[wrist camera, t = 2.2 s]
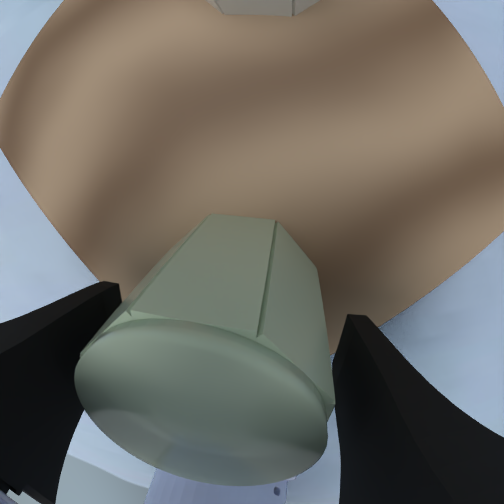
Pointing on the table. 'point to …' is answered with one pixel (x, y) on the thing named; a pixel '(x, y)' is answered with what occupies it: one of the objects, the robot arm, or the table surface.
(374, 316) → the walnut board
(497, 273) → the table surface
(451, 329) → the table surface
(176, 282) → the sage green acorn nut
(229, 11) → the white acorn nut
